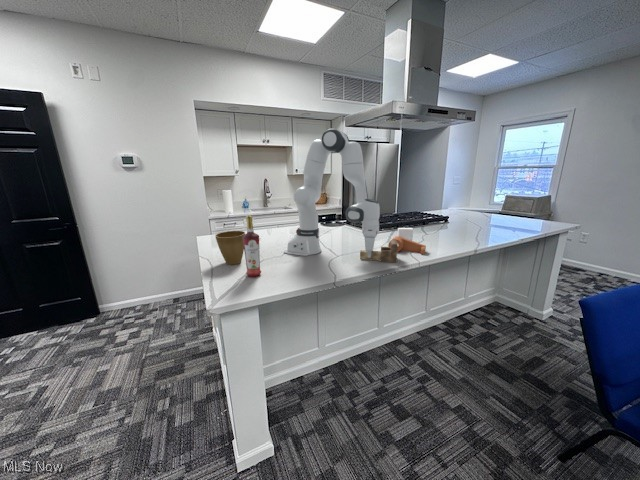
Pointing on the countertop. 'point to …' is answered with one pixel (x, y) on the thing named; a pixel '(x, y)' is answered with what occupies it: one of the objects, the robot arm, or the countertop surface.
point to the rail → (374, 255)
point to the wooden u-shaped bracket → (389, 252)
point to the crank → (408, 245)
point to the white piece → (405, 233)
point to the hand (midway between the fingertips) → (369, 254)
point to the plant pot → (231, 246)
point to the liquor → (251, 249)
